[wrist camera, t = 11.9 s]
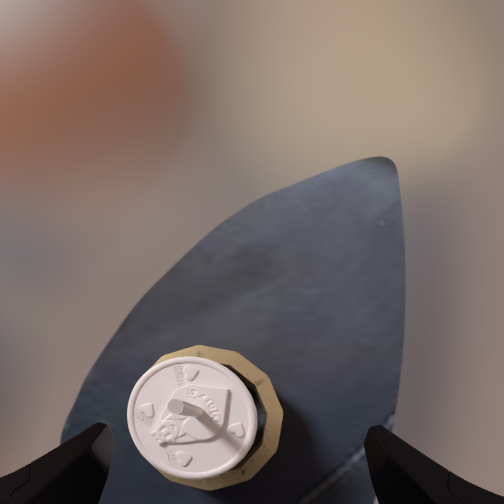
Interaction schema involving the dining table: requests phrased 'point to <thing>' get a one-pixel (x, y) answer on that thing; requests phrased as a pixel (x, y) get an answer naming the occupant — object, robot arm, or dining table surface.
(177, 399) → the smoothie
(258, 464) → the collar
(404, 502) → the robot arm
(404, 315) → the dining table surface
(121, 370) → the dining table surface
